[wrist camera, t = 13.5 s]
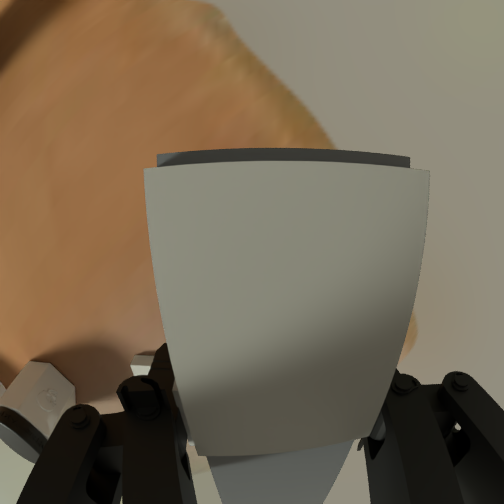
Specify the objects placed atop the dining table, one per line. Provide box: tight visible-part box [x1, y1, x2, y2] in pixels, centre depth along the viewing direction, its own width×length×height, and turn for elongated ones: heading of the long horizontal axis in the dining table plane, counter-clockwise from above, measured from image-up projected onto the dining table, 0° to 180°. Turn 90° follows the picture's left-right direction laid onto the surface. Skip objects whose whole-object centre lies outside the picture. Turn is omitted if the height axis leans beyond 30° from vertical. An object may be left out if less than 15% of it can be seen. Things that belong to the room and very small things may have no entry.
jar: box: [0, 361, 76, 463], centre depth 22 cm, size 9×8×12 cm
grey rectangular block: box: [144, 148, 430, 504], centre depth 9 cm, size 14×4×8 cm, turn 1°
